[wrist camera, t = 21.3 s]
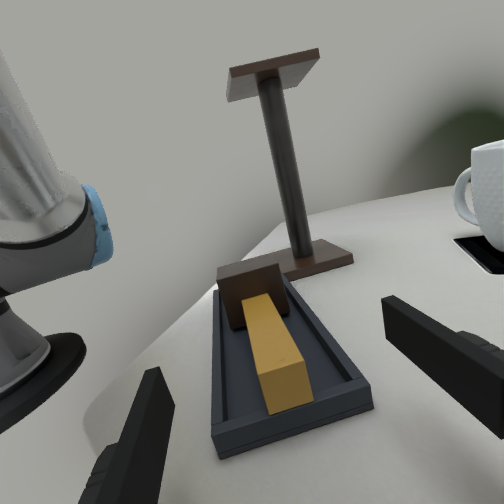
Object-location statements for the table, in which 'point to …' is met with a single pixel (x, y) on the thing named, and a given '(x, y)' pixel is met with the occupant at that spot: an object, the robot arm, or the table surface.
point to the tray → (250, 392)
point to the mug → (484, 192)
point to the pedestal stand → (286, 158)
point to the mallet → (266, 329)
